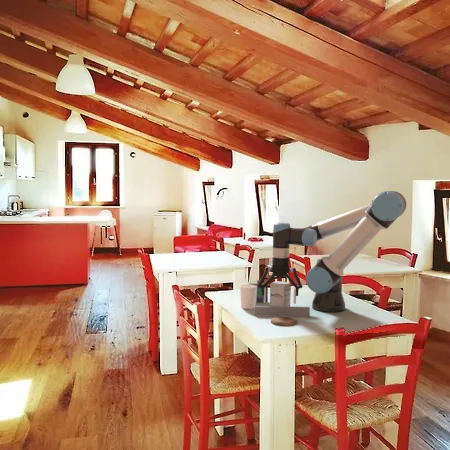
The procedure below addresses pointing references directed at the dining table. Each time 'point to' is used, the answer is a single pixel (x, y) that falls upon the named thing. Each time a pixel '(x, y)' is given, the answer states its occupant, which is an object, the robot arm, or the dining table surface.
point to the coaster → (284, 321)
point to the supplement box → (280, 294)
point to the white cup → (248, 296)
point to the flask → (260, 293)
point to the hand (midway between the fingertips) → (279, 302)
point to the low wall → (281, 311)
